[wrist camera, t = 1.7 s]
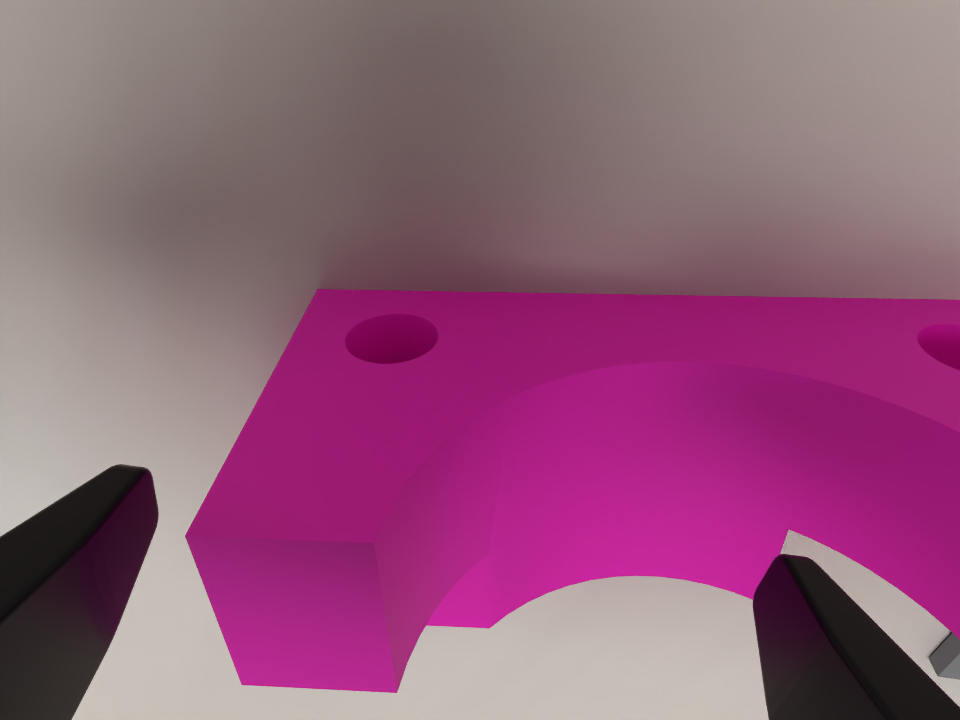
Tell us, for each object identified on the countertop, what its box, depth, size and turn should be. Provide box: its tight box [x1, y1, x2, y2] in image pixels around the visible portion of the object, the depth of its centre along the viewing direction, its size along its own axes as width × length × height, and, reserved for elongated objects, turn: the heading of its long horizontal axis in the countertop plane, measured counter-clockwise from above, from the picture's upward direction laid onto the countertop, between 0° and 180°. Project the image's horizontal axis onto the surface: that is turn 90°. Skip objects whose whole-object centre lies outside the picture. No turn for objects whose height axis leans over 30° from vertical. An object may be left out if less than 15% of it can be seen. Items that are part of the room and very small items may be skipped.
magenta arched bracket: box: [185, 289, 960, 693], centre depth 14 cm, size 15×6×8 cm, turn 91°
